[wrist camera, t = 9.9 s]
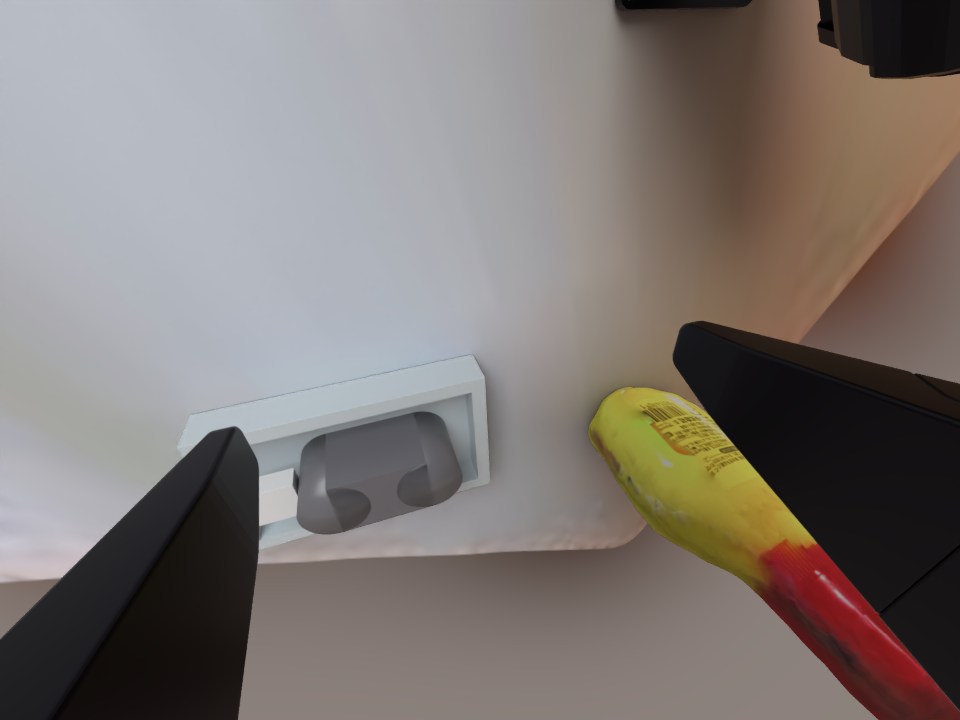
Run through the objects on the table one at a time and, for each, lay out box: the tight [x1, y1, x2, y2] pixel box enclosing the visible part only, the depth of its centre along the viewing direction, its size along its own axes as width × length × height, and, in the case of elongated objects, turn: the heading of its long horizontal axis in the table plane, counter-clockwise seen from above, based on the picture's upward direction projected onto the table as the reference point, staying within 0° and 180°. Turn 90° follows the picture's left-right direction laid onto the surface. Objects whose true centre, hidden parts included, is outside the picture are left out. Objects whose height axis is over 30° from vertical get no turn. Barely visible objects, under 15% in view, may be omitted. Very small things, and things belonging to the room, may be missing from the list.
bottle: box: [588, 387, 960, 720], centre depth 24 cm, size 12×6×20 cm, turn 67°
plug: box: [259, 411, 463, 534], centre depth 23 cm, size 11×4×4 cm, turn 93°
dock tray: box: [177, 354, 490, 550], centre depth 24 cm, size 15×9×2 cm, turn 93°
